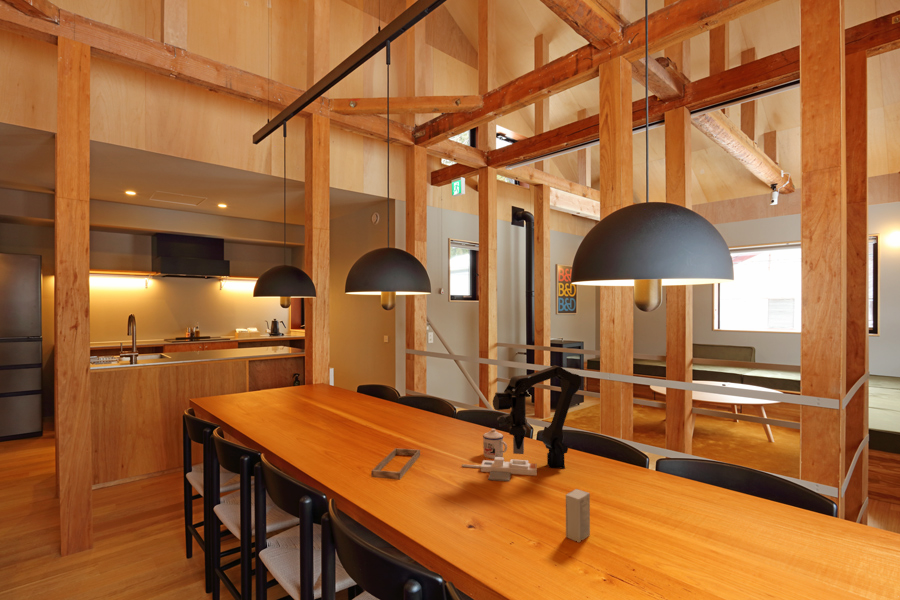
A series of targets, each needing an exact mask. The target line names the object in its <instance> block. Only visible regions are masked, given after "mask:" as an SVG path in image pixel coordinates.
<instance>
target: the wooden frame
mask: <svg viewBox="0 0 900 600" xmlns="http://www.w3.org/2000/svg"><path fill="white" fill-rule="evenodd" d="M397 455H398V456H411V457H410V459H408V461H407V462H406V463H405V464H404V465H403V467H402V468H401V469H400V470H399V471H391V470H383V468H385V467H386V466H387V465H388V463H390V462H391V460H393V459H394V458H395V456H397ZM420 456H421V449H412V448H396V447H395V448H394V449H393V450H392V451H391V452H390V453H389V454H387V456H385V457H384V458H383V459H382V460H381V461H380V462H379V463H378V464H377V465H376V466H375V467H374V468H373V469H372V470H371V471H370V472H371V478H377V479H390V480H391V479H392V480H401V479H402V478H403V477H404V475H405V474H406V473H407V472H408V471H409V469H410V468H411V467H412V465H414V463H416V461H417V460H418V459H419V458H420Z"/></svg>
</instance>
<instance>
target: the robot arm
mask: <svg viewBox="0 0 900 600" xmlns="http://www.w3.org/2000/svg"><path fill="white" fill-rule="evenodd" d="M554 378H556V379H559V381H560V384H559V385H560V391H561V392H560V395H559V399H558V402H557V405H556V408H555V411H554V414H553V417H552V419H551V420H552V421H551V423H550V424H549V426H544V428H543V431H542V434H541V441H542V443H543V445H545V448H546V449H548V452H547V453H546V455H547V456H546V458H547V459H546V461H547V465H548V468H555V469H566V466H565V454H567V453H568V451H569V447H568V446H567V445H566V444H565V443H564V431H563V429H564V424H565V422H566V420H567V416H568V413H569V409H570V406H571V402H572V399H573V398H574V395H575V394H576V393H577V392H578V391H579V389H580V387H581V385H582V382H583V380H582V378H581V376H580V375H579V374H577V373H573V372H570V371H568V370H566V369H564V368H563V367H562V366H561V365H551V366H550V367H547V368H544V369H542V370H538V371H536V372H533V373H531V374H526V375H525V374H524V375H515V376H512V377H511V378H510V379H509V382H508V384H507V386H506V387H505V389H504V392H498V391H497V392H495V393H494V396H493V399H492V406H493V408H494V411H501V410H502V411H503V410H510V409H511V410H510V413H506V414H504V415H500V416H497V419H496V420H497V424H498V425H499V428H500V427H502V428H503V426H505V425H510V427H509V435H511V436H513V438H515V442H516V446H517V449H520V447H521V445H522V442H523V440H524V441H525V437H526V436H527V435H526V434H527V426H528V419H527V418H526V417H527V408H526V401H527V400H526V399H527V398H531V394H530V393H529V392H528V391H529V390H531V388H532V387H533V386H535V385H537V384H539V383H542V382H545V381H548V380H550V379H551V380H552V379H554Z"/></svg>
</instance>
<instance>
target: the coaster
mask: <svg viewBox="0 0 900 600" xmlns="http://www.w3.org/2000/svg"><path fill="white" fill-rule="evenodd" d="M511 475H512V474H511V472H500V471H491V472H489V475H488V477H487V478H488V480H489V481H497V482H498V481H499V482H510V481H511Z"/></svg>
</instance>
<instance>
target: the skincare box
mask: <svg viewBox="0 0 900 600" xmlns="http://www.w3.org/2000/svg"><path fill="white" fill-rule="evenodd" d="M590 495H591V493H590V492H588V491H585V490H582V489H578V488H575V489H573V490H572V491H569V492H568V493H567V494H565V538H568V539H569V540H571V541H574V542H576V541H577V543H581V542H582V541H583V540H585V539H587V538H588V537H589V536H591V518H590V516H591V513H590V512H591V509H590V508H591V504H590V503H591V501H590ZM581 540H582V541H581Z"/></svg>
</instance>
